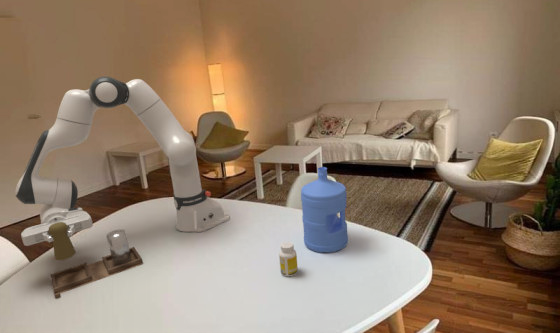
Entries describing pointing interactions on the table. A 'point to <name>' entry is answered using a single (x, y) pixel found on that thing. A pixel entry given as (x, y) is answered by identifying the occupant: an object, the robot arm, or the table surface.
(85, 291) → the table surface
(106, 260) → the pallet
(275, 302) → the table surface
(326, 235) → the water jug
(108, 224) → the table surface
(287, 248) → the supplement bottle
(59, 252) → the cork
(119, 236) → the steel cylinder
